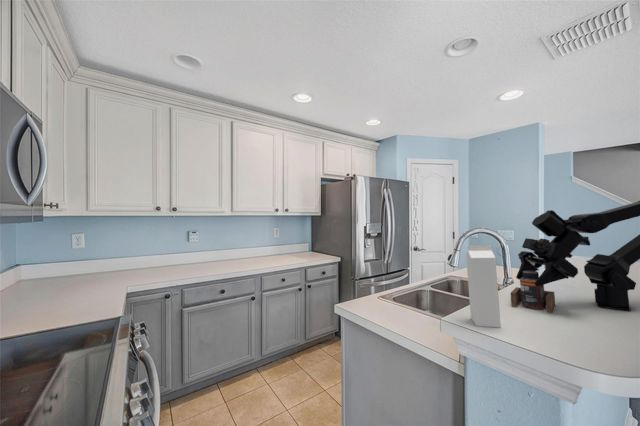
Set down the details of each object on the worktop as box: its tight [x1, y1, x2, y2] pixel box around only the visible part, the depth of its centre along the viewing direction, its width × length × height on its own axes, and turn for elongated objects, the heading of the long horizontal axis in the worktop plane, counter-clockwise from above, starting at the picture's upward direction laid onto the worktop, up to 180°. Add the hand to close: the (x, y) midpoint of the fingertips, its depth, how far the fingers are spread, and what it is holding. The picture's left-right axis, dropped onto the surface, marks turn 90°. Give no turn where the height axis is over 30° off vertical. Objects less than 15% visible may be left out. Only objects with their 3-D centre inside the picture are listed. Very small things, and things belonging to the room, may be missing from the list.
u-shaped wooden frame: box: [510, 286, 556, 314], centre depth 83 cm, size 10×9×4 cm
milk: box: [465, 244, 502, 328], centre depth 73 cm, size 6×6×22 cm
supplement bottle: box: [519, 270, 547, 310], centre depth 83 cm, size 6×6×11 cm
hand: (526, 281), depth 83 cm, fingers open, 9 cm apart
